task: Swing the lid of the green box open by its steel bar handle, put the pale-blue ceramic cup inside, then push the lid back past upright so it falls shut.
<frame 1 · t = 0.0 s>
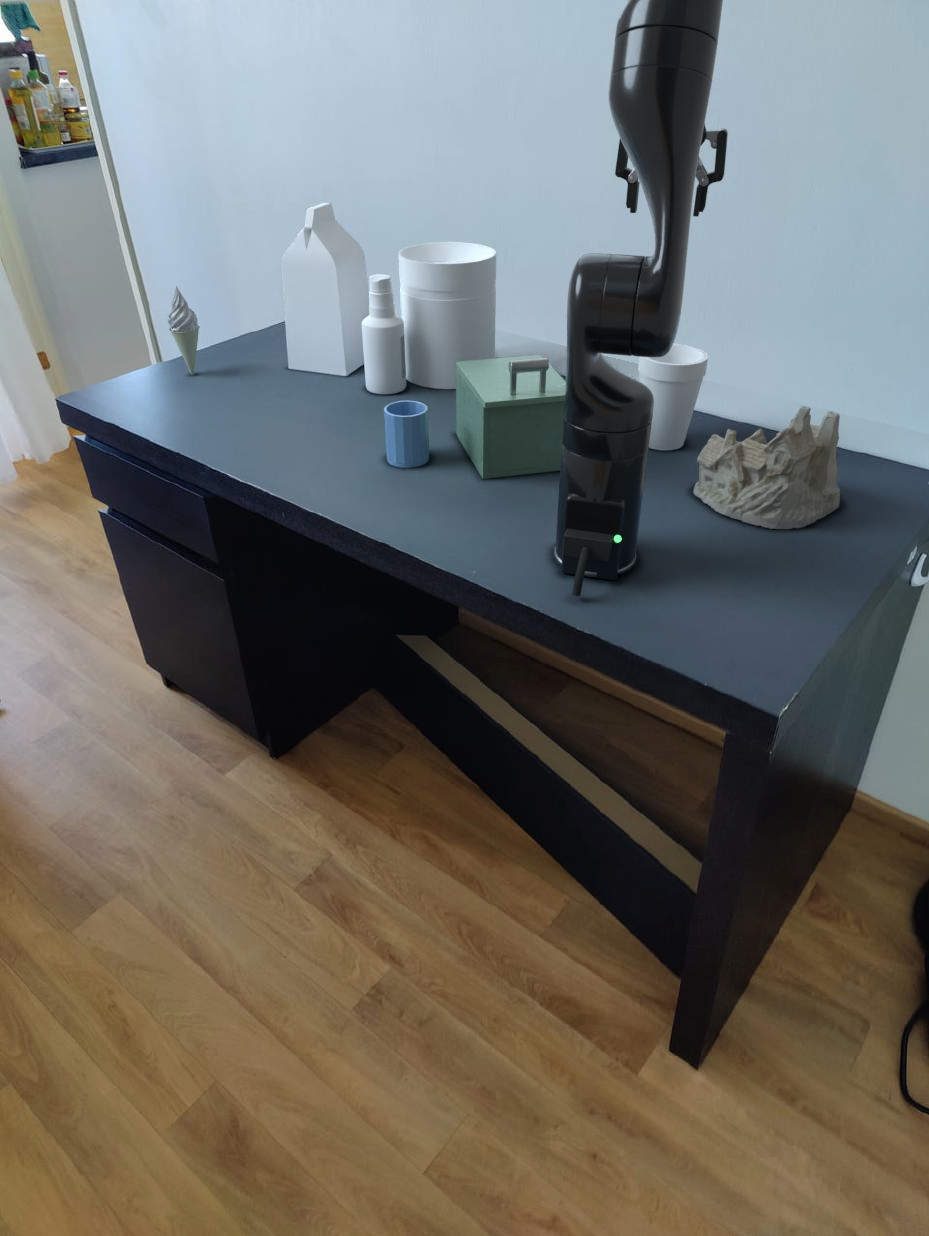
hand: (664, 213, 122), 29 cm above the table, tool pointing down, fingers open, 8 cm apart
canister: (449, 374, 155), on the table
ceramic cottage: (766, 500, 115), on the table
green box: (511, 451, 128), on the table
cup: (407, 458, 126), on the table
lid: (514, 363, 120), point 13 cm above the table, hinge at -0.1°
ice cream cone: (192, 375, 155), on the table
spray bottle: (386, 389, 149), on the table
milk: (333, 362, 160), on the table
foam cup: (661, 442, 130), on the table
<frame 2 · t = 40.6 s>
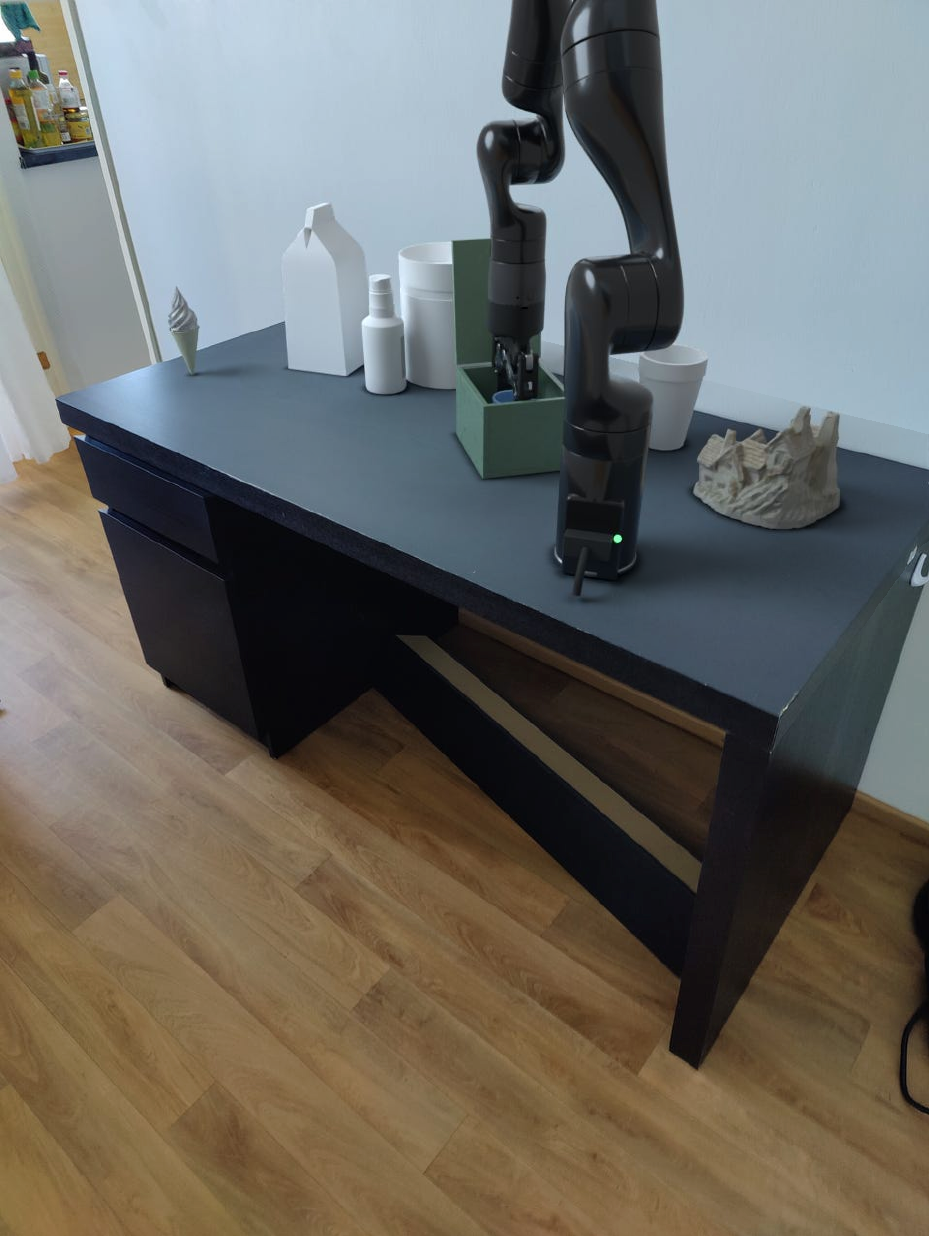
hand: (512, 412, 124), 6 cm above the table, tool pointing down, fingers open, 8 cm apart
cup: (512, 448, 127), point 1 cm above the table, touching green box
lid: (493, 298, 126), point 19 cm above the table, hinge at 95.8°
everything else where it was.
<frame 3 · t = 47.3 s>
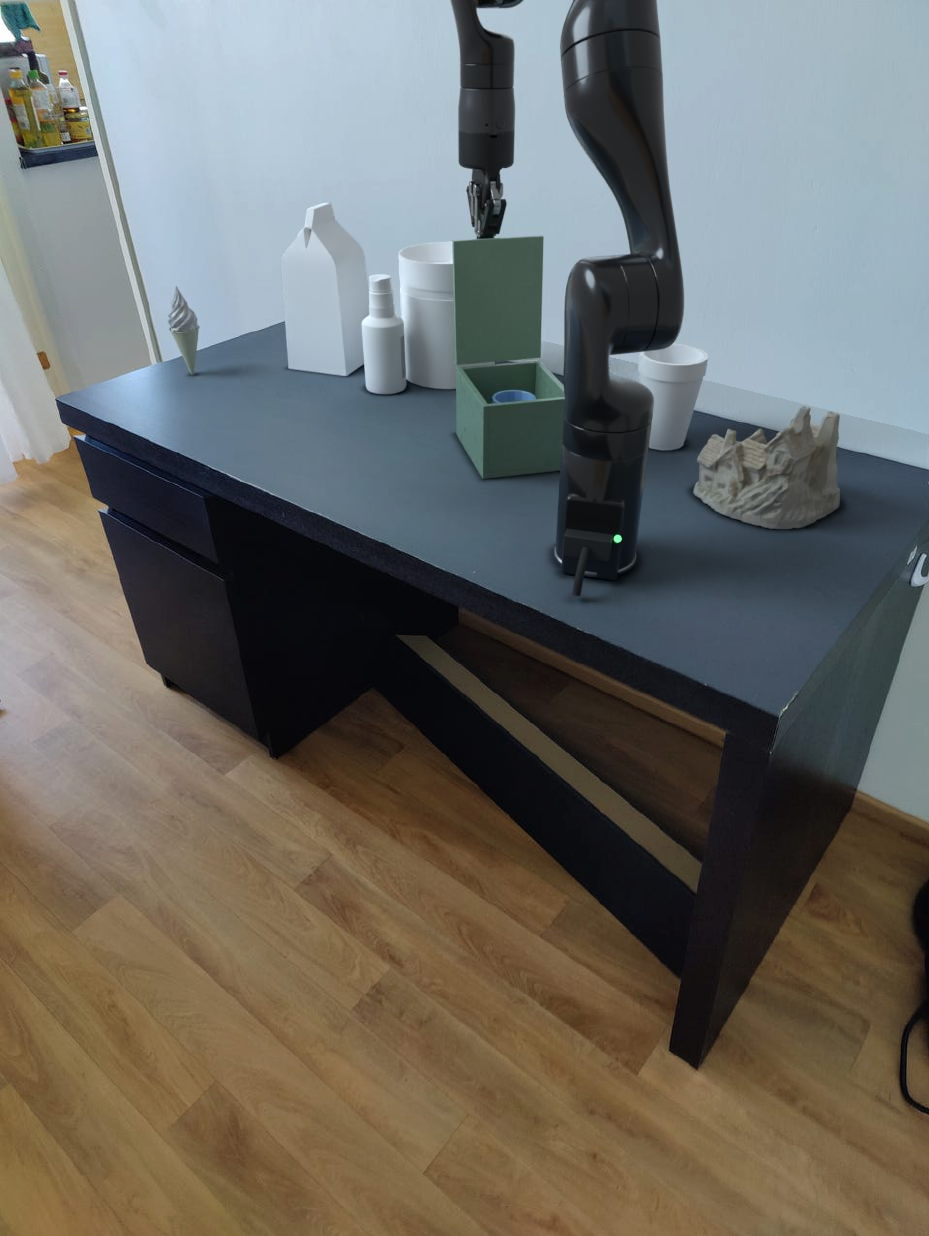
hand: (485, 263, 127), 22 cm above the table, tool pointing down, fingers closed
lid: (494, 298, 125), point 19 cm above the table, hinge at 93.9°, touching gripper
everything else where it was.
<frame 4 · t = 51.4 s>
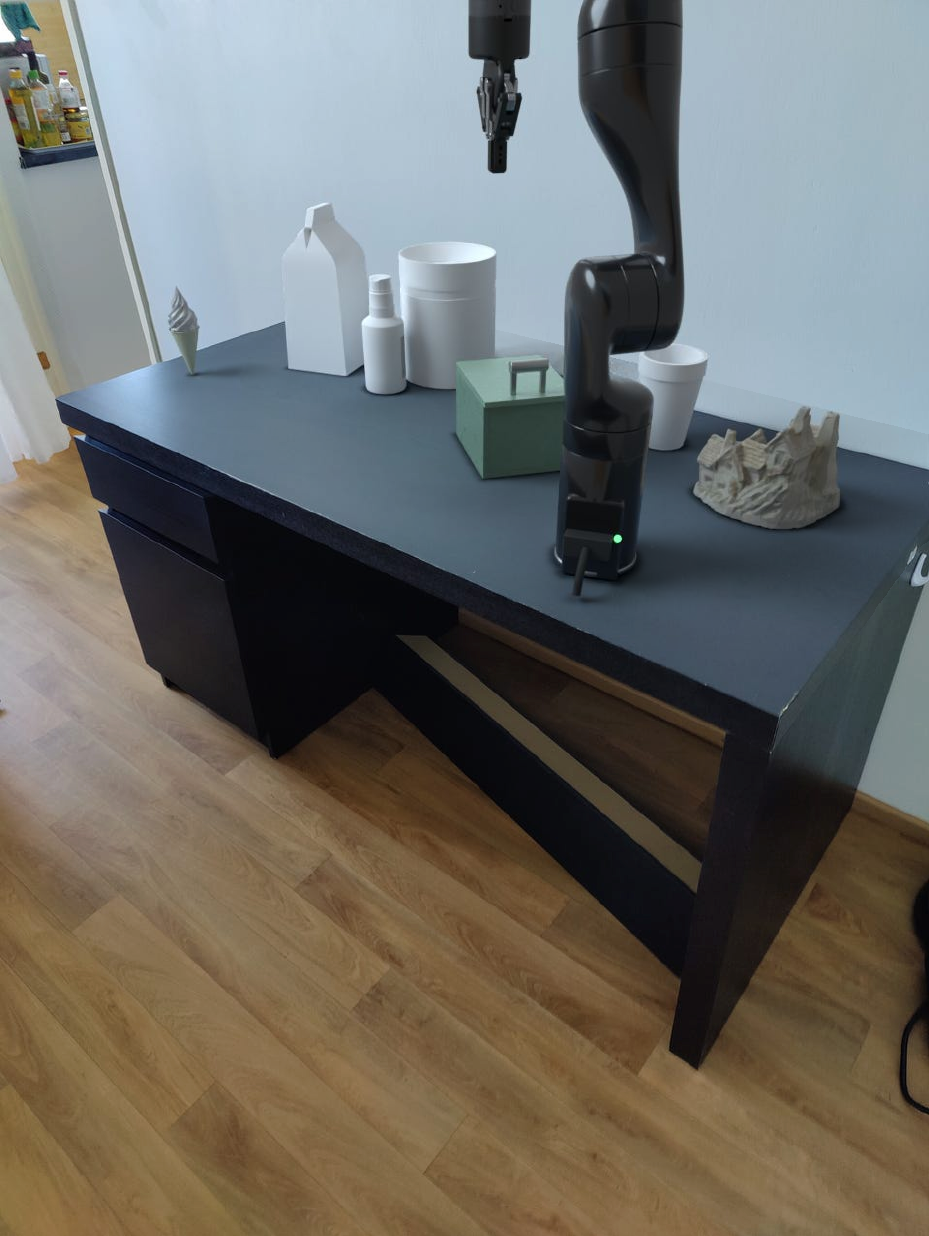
hand: (497, 172, 116), 35 cm above the table, tool pointing down, fingers closed
lid: (514, 364, 120), point 13 cm above the table, hinge at -0.1°
everything else where it was.
at the end: lid reached +96° during the clip, +0° at the end; cup inside the target area in the green box (0.6 cm from its centre), point 0.8 cm above the green box's base; lid at +0° (first picture: +0°) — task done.
